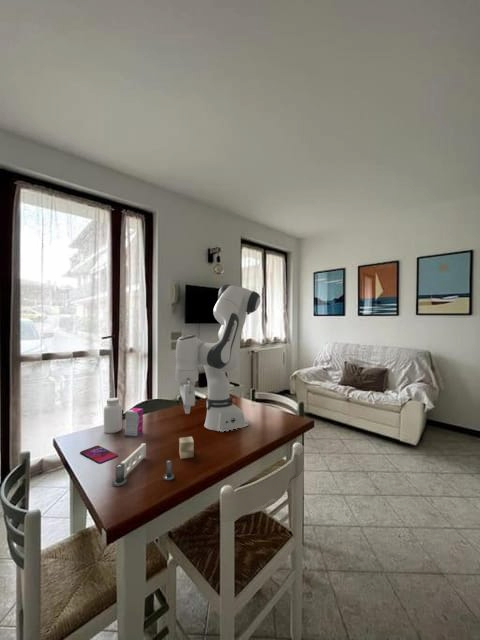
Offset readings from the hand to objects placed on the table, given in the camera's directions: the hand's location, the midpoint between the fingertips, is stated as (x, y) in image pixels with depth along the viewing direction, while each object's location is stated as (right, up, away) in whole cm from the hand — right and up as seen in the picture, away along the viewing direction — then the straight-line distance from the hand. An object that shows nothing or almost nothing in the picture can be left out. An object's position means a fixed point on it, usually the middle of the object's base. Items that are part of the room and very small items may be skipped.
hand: (186, 411), depth 111 cm
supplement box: (-28, -17, +20) cm, 38 cm away
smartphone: (-35, -18, 0) cm, 39 cm away
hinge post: (-18, -17, -19) cm, 31 cm away
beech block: (0, -17, 0) cm, 17 cm away
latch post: (-3, -17, -16) cm, 24 cm away
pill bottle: (-40, -17, +24) cm, 50 cm away
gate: (-17, -16, -10) cm, 26 cm away
